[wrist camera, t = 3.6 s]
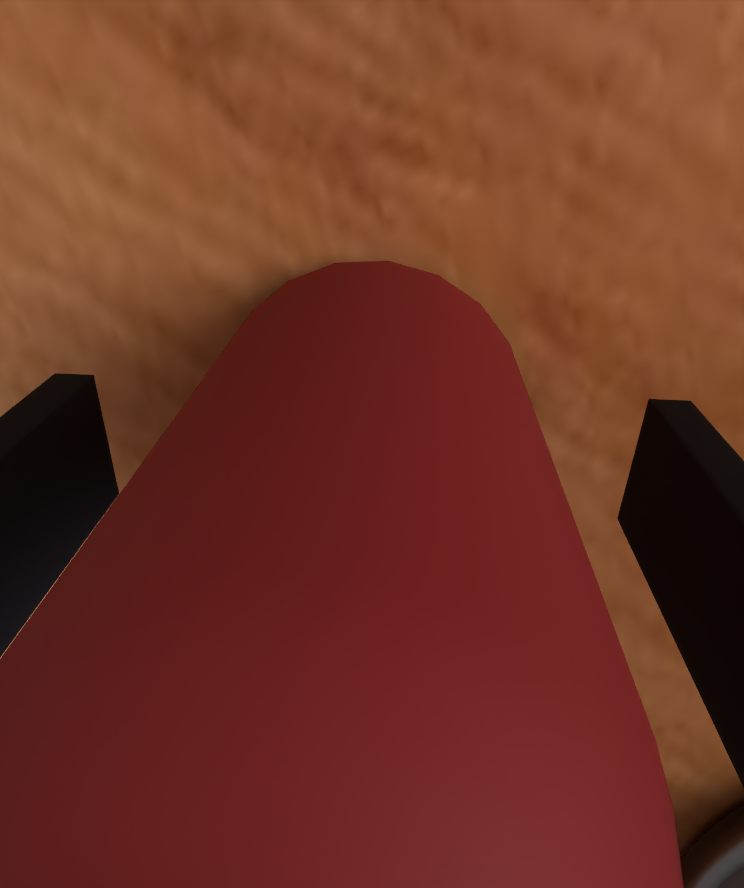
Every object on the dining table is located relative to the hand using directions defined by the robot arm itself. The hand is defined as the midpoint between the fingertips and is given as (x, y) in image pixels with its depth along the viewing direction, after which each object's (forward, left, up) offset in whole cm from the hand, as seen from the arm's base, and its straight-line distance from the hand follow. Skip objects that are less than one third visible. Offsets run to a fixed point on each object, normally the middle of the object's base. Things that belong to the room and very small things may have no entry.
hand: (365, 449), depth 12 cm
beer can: (0, 0, -3) cm, 3 cm away
